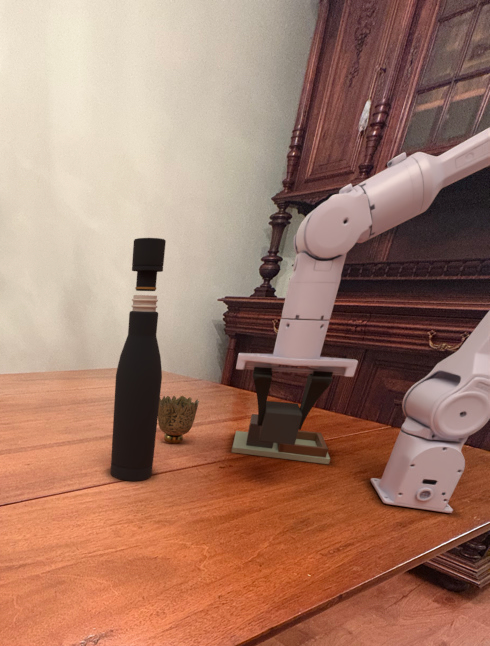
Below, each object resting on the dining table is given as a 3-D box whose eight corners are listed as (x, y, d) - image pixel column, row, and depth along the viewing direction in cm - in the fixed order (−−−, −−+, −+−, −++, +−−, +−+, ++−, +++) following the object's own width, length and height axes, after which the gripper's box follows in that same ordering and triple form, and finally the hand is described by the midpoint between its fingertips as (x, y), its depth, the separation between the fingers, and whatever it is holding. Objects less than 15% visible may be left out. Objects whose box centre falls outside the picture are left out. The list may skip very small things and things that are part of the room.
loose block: (294, 445, 58) (302, 415, 56) (259, 441, 59) (266, 412, 57) (291, 430, 64) (298, 403, 62) (259, 427, 65) (265, 400, 64)
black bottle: (150, 483, 63) (176, 236, 48) (107, 479, 64) (120, 236, 49) (152, 468, 68) (176, 242, 54) (113, 465, 69) (126, 242, 55)
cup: (146, 438, 83) (150, 396, 79) (177, 434, 86) (182, 394, 82) (168, 449, 77) (173, 404, 73) (200, 445, 80) (207, 401, 76)
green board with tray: (328, 464, 72) (338, 435, 70) (231, 452, 77) (236, 424, 74) (321, 445, 82) (329, 419, 80) (235, 435, 87) (240, 410, 84)
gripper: (362, 320, 55) (330, 424, 62) (246, 316, 59) (228, 414, 66) (374, 322, 50) (337, 437, 56) (244, 318, 54) (224, 425, 60)
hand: (278, 426), depth 61 cm, fingers closed on loose block, 4 cm apart
